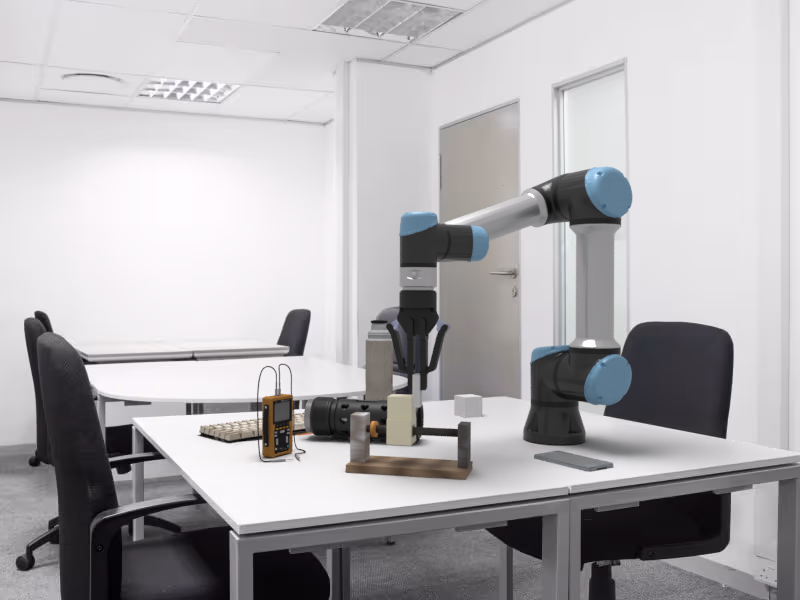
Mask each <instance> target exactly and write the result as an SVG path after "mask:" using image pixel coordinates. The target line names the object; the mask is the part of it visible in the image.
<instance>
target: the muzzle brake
mask: <svg viewBox="0 0 800 600" xmlns="http://www.w3.org/2000/svg"><path fill="white" fill-rule="evenodd" d="M355 412H368V413H370V425H371V422H372V421H378V424H379V425H384V426H387V400H365V399H357V398H340V399H339V400H337V398H336V397H335V398H334V397H332V396H316V397H315V398H309V399H308V400H307V402H306V403H305V406H304V412H303V413H304V425H305V429H306V431H307V432H308V433H313V434H312V435H314V436H319V437H320V436H321V437H331V439H332V440H337V441H341V440H342V441H345V440H348V438H350V415H351V414H353V413H355ZM424 415H425V413H424V405H423V403H422V406H421V407H420V408H419V407H416V427H424V422H425V421H424V420H425V419H424V418H425V417H424ZM422 436H423V435H416V442H415V443H419V441H420V440H421V438H422ZM373 440H379V441H380V442H386V440H387V434H385V433H378V436H377V437H371V435H370V441H373Z"/></svg>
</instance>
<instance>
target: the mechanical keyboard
mask: <svg viewBox="0 0 800 600" xmlns="http://www.w3.org/2000/svg"><path fill="white" fill-rule="evenodd" d="M258 420H259V441H262V417H258ZM199 427H200V428H199V433H200V434H197V436H199V437H202V438H205V439H208V440H213V441H217V442H223V443H230V444H233V443H241V442H255V441H258V429H257V418H253V419H252V418H251V419H249V420H248V419H244V420H235V421H229V422H225V423H224V422H221V423H217V424H215V423H213V424H209V425H207V424H205V425H200V426H199ZM294 432H295V436H299V437H300V436H307V435H314V434H313V433H308V432H307V431H306V429H305V425H304V412H302V413H301V412H299V413H294ZM293 437H294V433H293ZM237 445H240V444H237Z"/></svg>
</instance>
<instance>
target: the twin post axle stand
mask: <svg viewBox="0 0 800 600" xmlns="http://www.w3.org/2000/svg"><path fill="white" fill-rule="evenodd" d="M471 423H472V421H460V422H459V423H458V424H457V428H447V427H444V428H442V427H428V426H427V427H424V426H423V427H412V435H422V436H426V437H427V436H430V437H447V438H448V437H449V438H451V437H452V438H457V459H443V458H441V459H440V458H425V457H424V458H421V457H410V456H409V457H407V456H406V457H405V456H390V455H389V456H385V455H371V452H370V451H371V450H370V449H371V447H370V446H371V444H370V443H371V442H370V441H371V440H370V435H371V437H377V436H378V433H385V434H387V426H384V425H379V424H378V421H372V422H371V425H370V413H368V412H355V413H353V414H351V415H350V437H349V441H350V443H349V447H350V448H349V453H350V454H349V457H350V458H349V462H347V463H346V464H345V473H354V474H367V475H370V474H371V475H385V476H399V477H402V476H403V477H418V478H432V479H433V478H434V479H450V480H451V479H453V480H466V479H467V477H468V476H469V474H470V473H471V472H472V470H473V468H474V467H473V466H474V465H473V460H472V458H471V457H472V456H471V451H472V449H471V448H472V447H471V446H472V445H471V442H472V441H471V439H472V434H471V433H472V430H471V429H472V426H471V425H472V424H471Z"/></svg>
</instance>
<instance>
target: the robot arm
mask: <svg viewBox="0 0 800 600" xmlns="http://www.w3.org/2000/svg"><path fill="white" fill-rule="evenodd" d="M632 205H633V191H632V186H631V183H630V182H629V179H628V178H627V177H626V176H625V175H624V173H623V172H621V170H620V169H617V168H615V167H612V166H598V167H592V168H587V169H584V170H583V169H582V170H579V171H574V172H568V173H567V172H566V173H562V174H560V175H557V176H555V177H552V178H550V179H548V180H546V181H544V182H542V183H538V184H536V185H534V186H532V187H529V188H526V189H524V190H522V193H521V194H520V195H519V196H516V197H513V198H510V199H508V200H504V201H501V202H499V203H496V204H493V205H490V206H488V207H484V208H481V209H479V210H476V211H473V212H469V213H467V214H465V215H462V216H459V217H455V218H452V219H450V220H447V221H444V222H439V220H438V215H437V213H435V212H433V211H432V212H431V211H408V212H405V213H403V214H402V215H401V217H400V223H399V224H400V225H399V233H398V236H399V287H400V288H402V290H400V291H398V292H399V300H398V301H399V307H398V308H399V309H398V313H397V316H396V318H395V320H393V321H392V322H389V323H387V325H386V328H387V330H388V331H389V333H390V334H391V339H392V342H393V352H394V354H395V359H396V364H397V368H398V370H399V371H402V372H404V373H406V375H407V383H406V384H407V390H409V391H412V394H411V395H412V407H419V408H420V407H421V406H422V404H423V391H426V390H427V389H428V374H429V373H432V372H434V371H436V370H437V368H438V365H439V360H440V355H441V351H442V348H443V343H444V339H445V337H446V334H447V333H448V331H449V330H450V328H451V326H450V324H449V323H446V322H444V321H442V320H441V319H440V316H439V314H438V311H437V310H438V309H437V307H438V306H437V301H438V299H437V298H438V296H437V295H438V294H437V290H435V288H437V286H438V263H447V262H448V263H450V262H451V263H453V262H467V263H471V262H481V261H482V260H483V259H485V258H486V256H487V254H488V252H489V249H490V245H489V242H491V241H493V240H496V239H499V238H503V237H504V236H507V235H509V234H512V233H515V232H518V231H520V230H523V229H525V228H528V227H532V228H541V227H544V226H547V225H552V224H559V223H560V224H561V223H568V224H569V229H570V230H571V231H572V232H573V233H574V235H575V337H574V339H573V340H572V341H571V342H570V343H569V344H563V345H560V344H559V345H549V346H539V347H535V348H533V350H532V351H531V354H530V355H531V356H530V362H529V365H530V369H529V370H530V371H529V372H530V407H529V411H528V413H527V417H526V420H525V423H524V426H523V429H522V431H523V432H522V434H523V436H522V438H523V440H526V441H527V442H531V443H535V444H543V445H544V444H545V445H555V446H557V445H558V446H560V445H566V446H567V445H578V444H582V443H584V442H586V440H587V436H586V435H587V433H586V429H585V426H584V423H583V422H584V421H583V419H582V416H581V412H580V407H579V404H580V403H579V402H583V403H586V404H587V403H588V404H591V405H593V406H599V405H601V406H611V405H615V404H616V403H618V402H620V400H621V401H622V399H623V397H624V396H625V395H626V394H627V392H628V391H629V389H630V386H631V383H632V378H633V377H632V376H633V375H632V374H633V371H632V367H631V364H630V363H629V361H628V360H627V359H626V357H624V356H622V355H621V354H622V349H621V348H622V346H621V344H620V343H619V342H618V341H617V340H616V339H615V234H616V233H617V232H618V230H620V228H622V217H624V216H625V215H626V214H627V213H628V212H629V209H631V207H632ZM400 326H401V328H402V329H403V331H404V332H405V334H406V341H407V342H406V343H407V345H406V346H407V347H406V348H407V349H406V350H407V351H406V357H405V353H404V348H403V343H402V340H401V335H400V332H399V331H400ZM435 326H436V332H437V333H436V337H435V340H434V345H433V348H432V353H431V357H430V360H429V335H430V333H431V332H432V331H433V329H434V328H435ZM417 335H418V336H419V371H418V373H417V372H416V371H417V369H416V359H417V358H416V355H417V353H416V351H417V350H416V343H417V342H416V340H417ZM406 359H407V360H406Z"/></svg>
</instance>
